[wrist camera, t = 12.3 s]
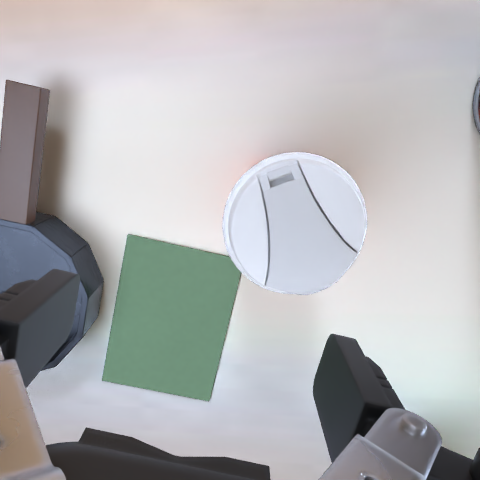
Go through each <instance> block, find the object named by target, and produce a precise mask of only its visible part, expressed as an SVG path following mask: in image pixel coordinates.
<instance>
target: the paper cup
mask: <svg viewBox="0 0 480 480" xmlns="http://www.w3.org/2000/svg"><path fill="white" fill-rule="evenodd" d="M222 229H223V237H224V242H225V245H226V249H227V251H228V253H229V256H230V258H231V260H232V261H233V263H234V264H235V266H236V267H237V268H238V270H239V271H240V272H241V273H242V274H243V275H244V276H245V277H247V278H248V279H249V280H251V281H252V282H253V283H255V284H257V285H259V286H260V287H262V288H265V289H267V290H270V291H273V292H278V293H283V294H298V295H309V294H313V293H316V292H319V291H321V290H324V289H326V288H328V287H330V286H331V285H333V284H335V283H336V282H337V281H338V280H339V279H340V278H341V277H342V275H343V274H344V273H345V272H346V271H347V270H348V269H349V267H350V266H351V265H352V264H353V262H354V261H355V259H356V258H357V256H358V255H359V252H360V250H361V248H362V246H363V243H364V239H365V236H366V229H367V211H366V206H365V201H364V198H363V196H362V193H361V191H360V189H359V187H358V186H357V184H356V182H355V181H354V179H353V178H352V177H351V176H350V175H349V174H348V172H346V171H345V170H344V169H343V168H342V167H341V166H339V165H338V164H336V163H335V162H333V161H331V160H330V159H327V158H325V157H322V156H320V155H316V154H312V153H307V152H289V153H282V154H278V155H275V156H271V157H269V158H267V159H265V160H263V161H261V162H259V163H257V164H256V165H254V166H253V167H251V168H250V169H249V170H248V171H247V172H246V173H245V174H244V175H243V176H242V177H241V178H240V179H239V180H238V182H237V183H236V184H235V186H234V187H233V189H232V191H231V193H230V195H229V197H228V200H227V202H226V205H225V209H224V214H223V227H222Z"/></svg>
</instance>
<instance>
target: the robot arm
mask: <svg viewBox="0 0 480 480" xmlns="http://www.w3.org/2000/svg"><path fill="white" fill-rule="evenodd" d="M473 114H474V120H475V124H476V127H477V129H478V132H479V133H480V78H479V80H478V83H477V86H476V89H475V94H474V100H473ZM79 285H80V275H79V274H76V273H72V272H68V271H63V270H59V269H52V270H51V271H49V272H48V273H47V274H45V275H44V276H43V277H41V278H40V279H38V280H33V279H31V280H27V281H24V282H20V283H17V284H15V285H13V286H12V287H10V288H9V289H7V290H6V291H5V293H4V292H3V293H1V294H0V480H270V470H269V466H266V465H261V464H256V463H251V462H247V461H242V460H237V459H233V458H228V457H179V456H174V455H172V454H169V453H167V452H165V451H162V450H160V449H158V448H156V447H153V446H151V445H149V444H146V443H144V442H142V441H139V440H137V439H135V438H132V437H128V436H124V435H119V434H114V433H109V432H105V431H100V430H95V429H90V428H86V429H85V431H84V432H83V434H82V436H81V438H80V440H79V442H64V443H56V444H50V445H46V446H45V443H44V440H43V437H42V434H41V431H40V428H39V425H38V423H37V420H36V417H35V414H34V411H33V408H32V405H31V402H30V399H29V397H28V394H27V391H26V387H27V386H28V385H29V384H30V383H31V381H32V380H33V379H34V378H35V377H36V376H37V374H38V373H39V372H40V371H41V370H42V368H43V367H44V366H45V365H46V364H47V362H48V361H49V360H50V359H51V358H52V356H53V355H54V354H55V353H56V352H57V350H58V349H59V348H60V347H61V346H62V345H63V343H64V342H65V341H66V339H67V338H68V336H69V334H70V331H71V329H72V325H73V321H74V315H75V309H76V303H77V297H78V291H79ZM313 396H314V400H315V404H316V407H317V411H318V415H319V418H320V422H321V426H322V429H323V433H324V436H325V440H326V444H327V447H328V451H329V455H330V458H331V462H332V464H331V465H330V467H329V468H328V469H327V470H326V471H325V472H324V474H323V475H322V476H321V477H320V478H319V480H480V448H479V449H478V451H477V453H476V455H475V457H474V460H472V459H470V458H467V457H465V456H463V455H460V454H458V453H456V452H453V451H451V450H448V449H446V448H444V447H442V446H441V444H442V438H441V436H440V434H439V432H438V431H437V430H436V429H435V428H434V427H433V426H432V425H431V424H430V423H429V422H428V421H426V420H425V419H423V418H422V417H420V416H418V415H417V414H415V413H412V412H410V411H407V410H405V408H404V407H403V405H402V403H401V402H400V400H399V398H398V397H397V395H396V393H395V392H394V390H393V389H392V386H391V385H390V383H389V381H388V380H387V378H386V376H385V375H384V373H383V371H382V370H381V368H380V367H379V366H378V365H377V364H376V363H374V362H373V361H372V360H371V359H370V358H369V357H365V355H364V353H363V352H362V350H361V348H360V346H359V344H358V343H357V341H356V339H353V338H349V337H345V336H340V335H336V334H331V335H330V336H329V338H328V340H327V342H326V345H325V348H324V351H323V354H322V357H321V360H320V363H319V366H318V369H317V372H316V375H315V379H314V385H313Z"/></svg>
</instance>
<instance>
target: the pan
mask: <svg viewBox="0 0 480 480" xmlns="http://www.w3.org/2000/svg"><path fill="white" fill-rule="evenodd" d="M49 95H50V90H48V89H44V88H40V87H36V86H32V85H27V84H23V83H19V82H15V81H10V80H6V86H5V97H4V108H3V119H2V130H1V141H0V294H1V293H3V292H4V293H5V291H6V290H7V289H9V288H10V287H12V286H13V285H15V284H17V283H20V282H24V281H27V280H31V279H33V280H38V279H40V278H41V277H43V276H44V275H45V274H47V273H48V272H49V271H51V270H52V269H59V270H63V271H68V272H72V273H76V274H79V275H80V285H79V291H78V297H77V303H76V309H75V315H74V321H73V325H72V329H71V331H70V334H69V336H68V338H67V339H66V341H65V342H64V343H63V345H62V346H61V347H60V348H59V349H58V350H57V352H56V353H55V354H54V355H53V356H52V358H51V359H50V360H49V361H48V362H47V364H46V365H45V366H44V367H43V368H42V370H46V369H49V368H52V367H55V366H57V365H58V364H59V363H60V362H61V360H62V359H63V358H64V357H65V356H66V355H67V354H68V353H69V352H70V351H71V350H72V348H73V347H74V346H75V345H76V344H77V343H78V342H79V341H80V340H81V339H82V337H83V336H84V335H85V333H86V332H87V331H88V329H89V328H90V327H91V325H92V324H93V323H94V321H95V320H96V319H97V317H98V313H99V307H100V301H101V295H102V288H103V282H104V281H103V277H102V275H101V272H100V270H99V268H98V265H97V263H96V260H95V258H94V255H93V253H92V251H91V248H90V246H89V244H88V243H87V242H86V241H85V240H84V239H82V238H81V237H80V236H79V235H78V234H76V233H75V232H74V231H73V230H72V229H70V228H69V227H68V226H67V225H66V224H64V223H63V222H62V221H61V220H59V219H58V218H57V217H55V216H53V215H48V214H43V213H39V212H36V209H37V200H38V191H39V183H40V174H41V165H42V156H43V148H44V139H45V130H46V121H47V113H48V104H49ZM42 370H41V371H42Z"/></svg>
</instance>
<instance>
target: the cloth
mask: <svg viewBox="0 0 480 480" xmlns="http://www.w3.org/2000/svg"><path fill="white" fill-rule="evenodd" d="M240 275H241V272H240V271H239V270H238V268H237V267H236V266H235V264H234V263H233V261H232V260H231V258H230V257H229V256H224V255H220V254H215V253H211V252H206V251H202V250H197V249H193V248H188V247H184V246H179V245H175V244H170V243H166V242H161V241H157V240H152V239H148V238H143V237H139V236H134V235H130V234H128V235H127V241H126V247H125V252H124V258H123V264H122V269H121V275H120V281H119V287H118V292H117V298H116V304H115V309H114V315H113V321H112V326H111V332H110V338H109V343H108V349H107V355H106V360H105V366H104V372H103V377H102V381H107V382H113V383H118V384H123V385H128V386H133V387H138V388H143V389H148V390H154V391H159V392H164V393H169V394H174V395H179V396H184V397H189V398H195V399H200V400H205V401H209V400H210V396H211V392H212V388H213V384H214V380H215V376H216V372H217V368H218V364H219V360H220V356H221V352H222V348H223V344H224V340H225V336H226V332H227V328H228V324H229V320H230V316H231V312H232V308H233V304H234V300H235V296H236V292H237V288H238V284H239V279H240Z"/></svg>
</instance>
